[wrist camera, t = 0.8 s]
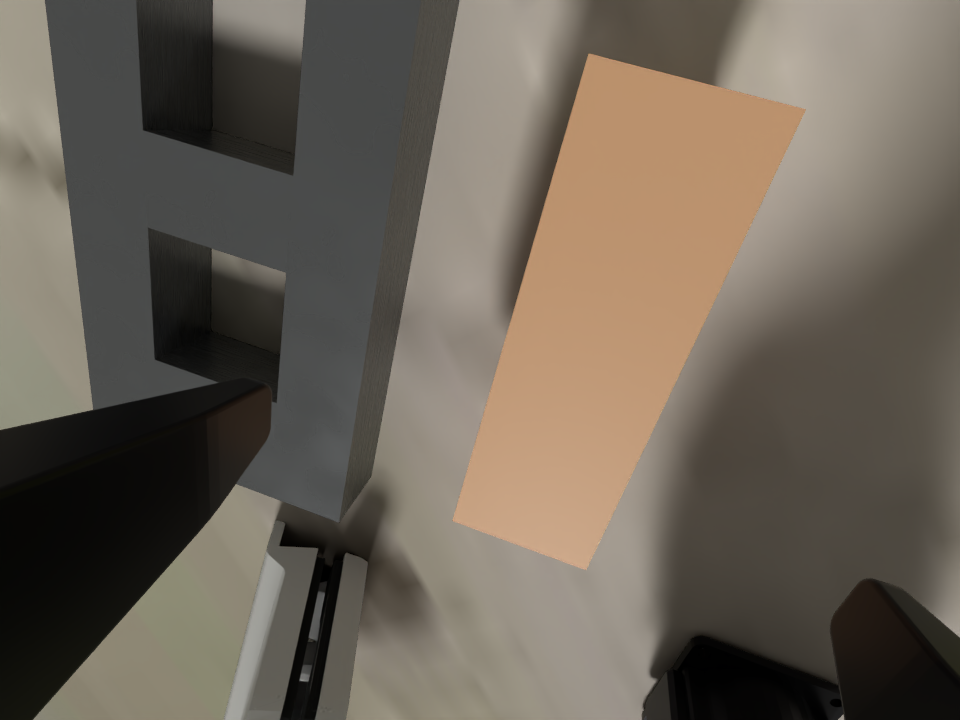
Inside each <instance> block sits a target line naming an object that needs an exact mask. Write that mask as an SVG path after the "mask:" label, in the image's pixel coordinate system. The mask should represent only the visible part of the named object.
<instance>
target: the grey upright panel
mask: <svg viewBox="0 0 960 720" xmlns="http://www.w3.org/2000/svg"><path fill="white" fill-rule="evenodd" d="M284 527H285V523H284V522H281V521H275V524H274V527H273V531H272V534H271V537H270V540H269V543H268V546H267V550H266V554H265V558H264V562H263V566H262V570H261V574H260V578H259V582H258V585H257V589H256V593H255V597H254V601H253V605H252V609H251V613H250V617H249V621H248V625H247V629H246V633H245V637H244V641H243V645H242V649H241V653H240V657H239V661H238V665H237V669H236V672H235V676H234V680H233V684H232V688H231V692H230V696H229V700H228V704H227V708H226V712H225V716H224V720H346V716H347V711H348V705H349V698H350V690H351V683H352V676H353V669H354V661H355V654H356V647H357V640H358V632H359V625H360V618H361V610H362V603H363V596H364V589H365V581H366V574H367V567H368V562H367V561H365V560H364V559H362V558H361V557H358V556H355V555H352V554H349V553H345V556H344V558H343V561H337V560H335V561H334V564H333V567H332V569H331V572H330V575H329V578H328V581H325V582H321V583H320V580H321V576H322V571H323V566H324V561H325V558H319V557H316V556H317V552H318V548H304V547H283V546H280V542H281V538H282V535H283V531H284ZM308 638H311V639H313V640H314V641H316V642H317V643H315V642H308Z"/></svg>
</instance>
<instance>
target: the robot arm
mask: <svg viewBox="0 0 960 720" xmlns="http://www.w3.org/2000/svg"><path fill="white" fill-rule="evenodd" d="M271 413H272V390H271V388H270V386H269V385H268V384H266V383H263V382H260V381H257V380H254V379H251V378H246V377H243V378H238V379H233V380H229V381H224V382H220V383H215V384H210V385H206V386H201V387H197V388H192V389H187V390H183V391H178V392H173V393H169V394H164V395H160V396H155V397H150V398H146V399H141V400H137V401H132V402H127V403H123V404H118V405H114V406H109V407H104V408H100V409H95V410H91V411H86V412H81V413H77V414H72V415H67V416H63V417H58V418H54V419H49V420H44V421H40V422H35V423H31V424H26V425H21V426H17V427H12V428H8V429H3V430H0V720H33V719H34V718H35V717H36V716H37V714H38V713H39V712H40V711H41V710H42V709H43V708H44V706H45V705H46V704H47V703H48V702H49V701H50V700H51V699H52V697H53V696H54V695H55V694H56V693H57V692H58V691H59V690H60V688H61V687H62V686H63V685H64V684H65V683H66V682H67V681H68V679H69V678H70V677H71V676H72V675H73V674H74V673H75V671H76V670H77V669H78V668H79V667H80V666H81V665H82V664H83V662H84V661H85V660H86V659H87V658H88V657H89V656H90V655H91V653H92V652H93V651H94V650H95V649H96V648H97V647H98V646H99V644H100V643H101V642H102V641H103V640H104V639H105V638H106V636H107V635H108V634H109V633H110V632H111V631H112V630H113V629H114V627H115V626H116V625H117V624H118V623H119V622H120V621H121V620H122V618H123V617H124V616H125V615H126V614H127V613H128V612H129V611H130V609H131V608H132V607H133V606H134V605H135V604H136V603H137V601H138V600H139V599H140V598H141V597H142V596H143V595H144V594H145V592H146V591H147V590H148V589H149V588H150V587H151V586H152V585H153V583H154V582H155V581H156V580H157V579H158V578H159V577H160V576H161V574H162V573H163V572H164V571H165V570H166V569H167V568H168V567H169V565H170V564H171V563H172V562H173V561H174V560H175V559H176V557H177V556H178V555H179V554H180V553H181V552H182V551H183V550H184V548H185V547H186V546H187V545H188V544H189V543H190V542H191V541H192V539H193V538H194V537H195V536H196V535H197V534H198V533H199V532H200V530H201V529H202V528H203V527H204V526H205V524H206V523H207V522H208V521H209V520H210V518H211V517H212V516H213V515H214V513H215V512H216V511H217V509H218V508H219V507H220V505H221V504H222V503H223V501H224V500H225V498H226V497H227V496H228V494H229V493H230V491H231V490H232V489H233V487H234V486H235V484H236V483H237V482H238V480H239V479H240V477H241V476H242V475H243V473H244V472H245V470H246V469H247V468H248V466H249V465H250V463H251V462H252V461H253V459H254V458H255V456H256V455H257V454H258V452H259V451H260V449H261V448H262V447H263V445H264V444H265V442H266V441H267V439H268V436H269V434H270V430H271ZM830 634H831V640H832V646H833V652H834V659H835V665H836V671H837V677H838V683H839V686H837V685H835V684H832V683H829V682H826V681H824V680H821V679H818V678H816V677H813V676H810V675H808V674H805V673H802V672H800V671H797V670H794V669H792V668H789V667H786V666H784V665H781V664H778V663H775V662H773V661H770V660H767V659H765V658H762V657H759V656H757V655H754V654H751V653H749V652H746V651H743V650H741V649H738V648H735V647H733V646H730V645H727V644H725V643H722V642H719V641H716V640H714V639H711V638H708V637H705V636H696V637H694V638H692V639H691V640H690V642H689V643H688V645H687V646H686V648H685V649H684V651H683V652H682V654H681V655H680V657H679V658H678V660H677V661H676V663H675V664H674V666H673V667H672V668H671V669H669V670H668V671H666V672H665V674H664V675H663V677H662V678H661V680H660V681H659V683H658V684H657V686H656V687H655V689H654V690H653V692H652V693H651V695H650V696H649V698H648V699H647V701H646V708H645V709H644V711H643V712H642V720H838V719H839V718H840V717H841V716H842V715H843V714H844V720H960V637H958V636H957V635H956V634H955V633H954V632H953V631H951V630H950V629H949V628H948V627H947V626H946V625H944V624H943V623H942V622H941V621H940V620H939V619H937V618H936V617H935V616H934V615H933V614H932V613H930V612H929V611H928V610H927V609H926V608H924V607H923V606H922V605H921V604H920V603H919V602H917V601H916V600H915V599H914V598H913V597H912V596H910V595H909V594H908V593H907V592H906V591H904V590H903V589H901V588H899V587H897V586H894V585H891V584H888V583H885V582H882V581H879V580H876V579H872V578H869V579H864V580H862V581H860V582H859V583H858V584H857V585H856V587H855V588H854V589H853V590H852V592H851V593H850V594H849V595H848V597H847V598H846V599H845V601H844V602H843V603H842V604H841V606H840V607H839V608H838V609H837V611H836V612H835V613H834V615H833V617H832V620H831V624H830ZM702 648H704V649H702Z"/></svg>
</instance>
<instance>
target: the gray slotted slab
mask: <svg viewBox="0 0 960 720" xmlns="http://www.w3.org/2000/svg"><path fill="white" fill-rule="evenodd" d="M45 4H46V13H47V21H48V30H49V38H50V47H51V55H52V64H53V72H54V81H55V89H56V97H57V106H58V114H59V123H60V131H61V140H62V148H63V157H64V165H65V174H66V182H67V191H68V199H69V208H70V216H71V225H72V233H73V241H74V250H75V258H76V267H77V275H78V284H79V292H80V301H81V309H82V318H83V326H84V335H85V343H86V352H87V360H88V369H89V377H90V385H91V394H92V402H93V410H95V409H100V408H104V407H109V406H114V405H118V404H123V403H127V402H132V401H137V400H141V399H146V398H150V397H155V396H160V395H164V394H169V393H173V392H178V391H183V390H187V389H192V388H197V387H201V386H206V385H210V384H215V383H220V382H224V381H229V380H233V379H238V378H243V377H246V378H251V379H254V380H257V381H260V382H263V383H266V384H268V385H269V386H270V388H271V390H272V413H271V430H270V434H269V436H268V439H267V441H266V442H265V444H264V445H263V447H262V448H261V449H260V451H259V452H258V454H257V455H256V456H255V458H254V459H253V461H252V462H251V463H250V465H249V466H248V468H247V469H246V470H245V472H244V473H243V475H242V476H241V477H240V479H239V480H238V482H237V483H236V484H238V485H240V486H243V487H246V488H248V489H251V490H254V491H256V492H259V493H262V494H264V495H267V496H270V497H272V498H275V499H278V500H280V501H283V502H285V503H288V504H291V505H293V506H296V507H299V508H301V509H304V510H307V511H309V512H312V513H315V514H317V515H320V516H323V517H325V518H328V519H330V520H333V521H336V522H338V523H339V522H340V520H341V519H342V518H343V516H344V515H345V513H346V512H347V510H348V509H349V508H350V506H351V505H352V503H353V502H354V500H355V499H356V498H357V496H358V495H359V493H360V492H361V490H362V489H363V488H364V486H365V485H366V483H367V482H368V480H369V479H370V478H371V474H372V469H373V463H374V458H375V452H376V447H377V442H378V436H379V431H380V425H381V420H382V414H383V409H384V404H385V398H386V393H387V387H388V382H389V377H390V371H391V366H392V360H393V355H394V350H395V344H396V339H397V333H398V328H399V323H400V317H401V312H402V306H403V301H404V296H405V290H406V285H407V279H408V274H409V269H410V263H411V258H412V252H413V247H414V242H415V236H416V231H417V225H418V220H419V215H420V209H421V204H422V198H423V193H424V188H425V182H426V177H427V171H428V166H429V161H430V155H431V150H432V144H433V139H434V134H435V128H436V123H437V117H438V112H439V107H440V101H441V96H442V90H443V85H444V80H445V74H446V69H447V63H448V58H449V53H450V47H451V42H452V36H453V31H454V26H455V20H456V15H457V9H458V4H459V0H306V10H305V24H304V37H303V51H302V65H301V78H300V92H299V106H298V119H297V133H296V147H295V154H292V153H288V152H285V151H282V150H278V149H275V148H272V147H268V146H265V145H262V144H258V143H255V142H252V141H248V140H245V139H241V138H238V137H235V136H231V135H228V134H225V133H221V132H218V131H215V130H211V120H212V0H45ZM211 248H212V249H215V250H218V251H221V252H224V253H227V254H230V255H234V256H237V257H240V258H243V259H246V260H249V261H252V262H255V263H258V264H261V265H264V266H267V267H270V268H273V269H277V270H280V271H283V272H286V283H285V297H284V311H283V324H282V338H281V352H280V355H278V354H275V353H272V352H269V351H266V350H263V349H260V348H257V347H255V346H252V345H249V344H246V343H243V342H240V341H237V340H234V339H231V338H228V337H226V336H223V335H220V334H217V333H214V332H211Z"/></svg>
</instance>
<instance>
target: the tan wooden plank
mask: <svg viewBox="0 0 960 720" xmlns="http://www.w3.org/2000/svg"><path fill="white" fill-rule="evenodd" d="M805 110H806V109H802V108H798V107H794V106H790V105H787V104H783V103H779V102H775V101H771V100H767V99H763V98H759V97H756V96H752V95H748V94H744V93H740V92H736V91H732V90H728V89H725V88H721V87H717V86H713V85H709V84H705V83H701V82H698V81H694V80H690V79H686V78H682V77H678V76H674V75H670V74H667V73H663V72H659V71H655V70H651V69H647V68H643V67H639V66H636V65H632V64H628V63H624V62H620V61H616V60H612V59H608V58H605V57H601V56H597V55H593V54H588V57H587V60H586V64H585V67H584V71H583V74H582V78H581V81H580V84H579V88H578V91H577V95H576V98H575V102H574V105H573V108H572V112H571V115H570V119H569V122H568V126H567V129H566V133H565V136H564V139H563V143H562V146H561V150H560V153H559V157H558V160H557V163H556V167H555V170H554V174H553V177H552V181H551V184H550V187H549V191H548V194H547V198H546V201H545V205H544V208H543V212H542V215H541V218H540V222H539V225H538V229H537V232H536V236H535V239H534V242H533V246H532V249H531V253H530V256H529V260H528V263H527V266H526V270H525V273H524V277H523V280H522V284H521V287H520V291H519V294H518V297H517V301H516V304H515V308H514V311H513V315H512V318H511V321H510V325H509V328H508V332H507V335H506V339H505V342H504V345H503V349H502V352H501V356H500V359H499V363H498V366H497V370H496V373H495V376H494V380H493V383H492V387H491V390H490V394H489V397H488V400H487V404H486V407H485V411H484V414H483V418H482V421H481V424H480V428H479V431H478V435H477V438H476V442H475V445H474V449H473V452H472V455H471V459H470V462H469V466H468V469H467V473H466V476H465V479H464V483H463V486H462V490H461V493H460V497H459V500H458V503H457V507H456V510H455V514H454V517H453V521H454V522H457V523H459V524H462V525H465V526H467V527H470V528H473V529H476V530H478V531H481V532H484V533H486V534H489V535H492V536H495V537H497V538H500V539H503V540H505V541H508V542H511V543H514V544H516V545H519V546H522V547H524V548H527V549H530V550H533V551H535V552H538V553H541V554H543V555H546V556H549V557H552V558H554V559H557V560H560V561H563V562H565V563H568V564H571V565H573V566H576V567H579V568H582V569H584V570H586V569H587V567H588V565H589V563H590V561H591V559H592V557H593V555H594V553H595V551H596V549H597V546H598V544H599V542H600V540H601V538H602V536H603V534H604V532H605V530H606V528H607V525H608V523H609V521H610V519H611V517H612V515H613V513H614V511H615V509H616V507H617V504H618V502H619V500H620V498H621V496H622V494H623V492H624V490H625V488H626V486H627V484H628V481H629V479H630V477H631V475H632V473H633V471H634V469H635V467H636V465H637V463H638V460H639V458H640V456H641V454H642V452H643V450H644V448H645V446H646V444H647V442H648V440H649V437H650V435H651V433H652V431H653V429H654V427H655V425H656V423H657V421H658V419H659V416H660V414H661V412H662V410H663V408H664V406H665V404H666V402H667V400H668V398H669V396H670V393H671V391H672V389H673V387H674V385H675V383H676V381H677V379H678V377H679V375H680V372H681V370H682V368H683V366H684V364H685V362H686V360H687V358H688V356H689V354H690V351H691V349H692V347H693V345H694V343H695V341H696V339H697V337H698V335H699V333H700V331H701V328H702V326H703V324H704V322H705V320H706V318H707V316H708V314H709V312H710V310H711V307H712V305H713V303H714V301H715V299H716V297H717V295H718V293H719V291H720V289H721V287H722V284H723V282H724V280H725V278H726V276H727V274H728V272H729V270H730V268H731V266H732V263H733V261H734V259H735V257H736V255H737V253H738V251H739V249H740V247H741V245H742V242H743V240H744V238H745V236H746V234H747V232H748V230H749V228H750V226H751V224H752V222H753V219H754V217H755V215H756V213H757V211H758V209H759V207H760V205H761V203H762V201H763V198H764V196H765V194H766V192H767V190H768V188H769V186H770V184H771V182H772V180H773V178H774V175H775V173H776V171H777V169H778V167H779V165H780V163H781V161H782V159H783V157H784V154H785V152H786V150H787V148H788V146H789V144H790V142H791V140H792V138H793V136H794V134H795V131H796V129H797V127H798V125H799V123H800V121H801V119H802V117H803V115H804V113H805Z"/></svg>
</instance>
